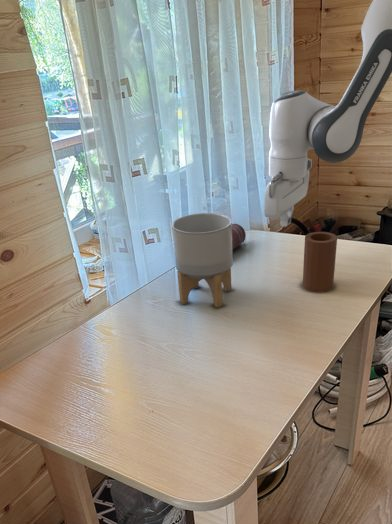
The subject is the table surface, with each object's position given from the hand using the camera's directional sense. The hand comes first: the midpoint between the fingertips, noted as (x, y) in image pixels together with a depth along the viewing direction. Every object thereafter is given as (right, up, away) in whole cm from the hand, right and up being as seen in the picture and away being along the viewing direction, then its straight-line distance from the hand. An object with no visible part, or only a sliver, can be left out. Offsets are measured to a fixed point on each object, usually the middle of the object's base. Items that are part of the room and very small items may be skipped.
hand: (285, 224), depth 129 cm
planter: (-20, -19, -8) cm, 29 cm away
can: (-11, +2, +18) cm, 21 cm away
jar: (+6, -16, -7) cm, 19 cm away
